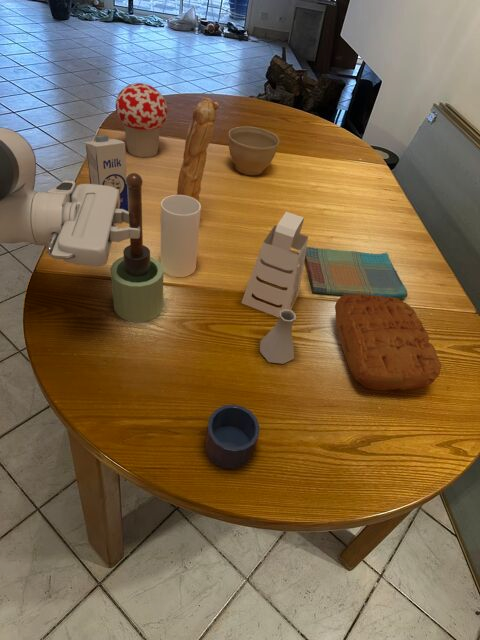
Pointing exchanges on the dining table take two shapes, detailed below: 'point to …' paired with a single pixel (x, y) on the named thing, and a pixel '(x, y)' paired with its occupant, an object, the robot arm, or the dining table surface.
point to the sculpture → (196, 148)
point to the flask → (279, 339)
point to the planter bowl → (252, 149)
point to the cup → (179, 234)
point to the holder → (231, 436)
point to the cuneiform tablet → (385, 343)
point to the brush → (136, 251)
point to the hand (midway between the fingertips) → (141, 226)
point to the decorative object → (141, 117)
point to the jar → (137, 292)
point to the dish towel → (352, 273)
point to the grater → (278, 266)
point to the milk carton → (108, 165)
